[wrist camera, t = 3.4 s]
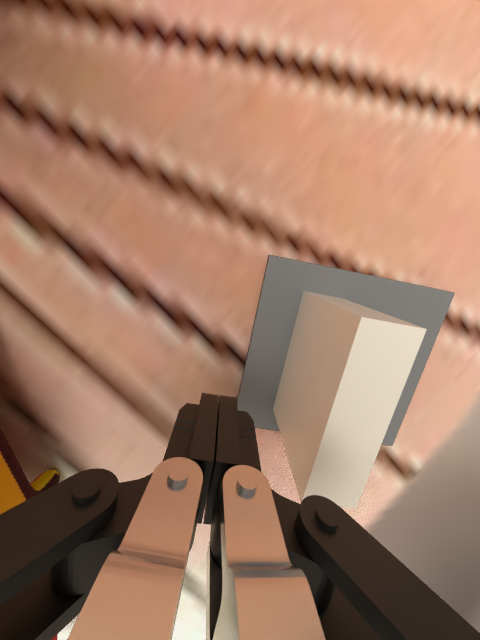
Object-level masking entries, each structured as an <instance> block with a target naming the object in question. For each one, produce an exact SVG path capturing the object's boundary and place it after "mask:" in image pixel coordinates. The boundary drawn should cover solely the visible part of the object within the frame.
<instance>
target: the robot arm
mask: <svg viewBox="0 0 480 640" xmlns="http://www.w3.org/2000/svg"><path fill="white" fill-rule="evenodd" d="M218 399H219V402H218ZM204 508H205V513H204ZM203 513H204V524H211V534H210V542H209V547H208V551H207V596H206V640H480V633H479V632H478V631H477V630H475V629H474V628H473V627H472V626H471V625H470V624H469V623H468V622H467V621H466V620H465V619H463V618H462V617H461V616H460V615H459V614H458V613H457V612H456V611H454V610H453V609H452V608H451V607H450V606H449V605H448V604H447V603H446V602H445V601H443V600H442V599H441V598H440V597H439V596H438V595H437V594H436V593H435V592H433V591H432V590H431V589H430V588H429V587H428V586H427V585H426V584H425V583H424V582H422V581H421V580H420V579H419V578H418V577H417V576H416V575H415V574H414V573H412V572H411V571H410V570H409V569H408V568H407V567H406V566H405V565H404V564H402V563H401V562H400V561H399V560H398V559H397V558H396V557H394V555H392V554H391V553H390V552H389V551H388V550H387V549H386V548H385V547H384V546H382V545H381V544H380V543H379V542H378V541H377V540H376V539H375V538H374V537H372V536H371V535H370V534H369V533H368V532H367V531H366V530H365V529H364V528H363V527H361V526H360V525H359V524H358V523H357V522H356V521H355V520H354V519H353V518H352V517H350V516H349V515H348V514H347V513H346V512H345V511H344V510H343V509H342V508H340V507H339V506H338V505H337V504H336V503H334V502H333V501H331V500H330V499H328V498H326V497H323V496H319V495H310V496H307V497H306V498H304V499H303V500H302V502H301V504H298V503H296V502H294V501H291V500H289V499H287V498H285V497H283V496H281V495H279V494H277V493H276V492H275V491H273V490H272V489H271V488H270V484H269V482H268V480H267V478H266V477H265V476H264V475H263V474H262V472H261V466H260V460H259V453H258V447H257V440H256V434H255V427H254V420H253V419H252V418H251V416H250V415H249V413H248V412H246V411H239V410H238V409H237V398H234V397H228V396H221V395H220V397H219V395H214V394H207V393H202V395H201V400H200V405H197V404H190V403H187V404H186V405H184V406H183V407H182V408H181V409H180V410H179V413H178V416H177V420H176V422H175V425H174V429H173V431H172V435H171V438H170V441H169V444H168V447H167V450H166V453H165V456H164V459H163V461H162V463H160V464H159V465H158V466H157V467H156V469H155V470H154V472H153V473H151V474H150V475H148V476H146V477H144V478H141V479H138V480H133V481H128V482H122V483H119V482H118V479H117V477H116V476H115V475H114V474H113V473H112V472H110V471H108V470H105V469H89V470H85V471H82V472H79V473H77V474H75V475H73V476H71V477H69V478H67V479H66V480H64V481H62V482H60V483H58V484H56V485H54V486H52V487H51V488H49V489H47V490H45V491H43V492H41V493H39V494H37V495H36V496H34V497H32V498H30V499H28V500H26V501H24V502H22V503H20V504H19V505H17V506H15V507H13V508H11V509H9V510H7V511H5V512H4V513H2V514H0V640H52V639H53V638H54V637H55V636H56V635H57V634H58V633H59V632H60V631H61V630H62V629H63V628H64V627H65V626H66V625H67V624H68V623H69V622H70V621H71V620H72V619H74V618H75V617H76V616H77V615H78V614H79V613H80V614H79V616H78V618H77V620H76V622H75V624H74V627H73V629H72V631H71V633H70V635H69V637H68V639H67V640H171V639H172V634H173V629H174V624H175V619H176V614H177V610H178V605H179V600H180V595H181V590H182V585H183V580H184V575H185V570H186V565H187V560H188V555H189V551H190V550H191V548H192V545H193V541H194V536H195V531H196V526H197V523H200V524H201V523H202V518H203Z"/></svg>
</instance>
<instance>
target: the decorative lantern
mask: <svg viewBox="0 0 480 640" xmlns="http://www.w3.org/2000/svg"><path fill="white" fill-rule="evenodd" d="M59 479H60V474H59V473H58V471H56V470H48V471H46V472H44V473H42V474H41V475H40V476H38V477H37V478H36V479H35V480H34V481H33V482H32V483H31V484H29V482H28V480H27V478H26V476H25V474H24V472H23V471H22V469H21V467H20V465H19V463H18V461H17V459H16V457H15V455H14V453H13V451H12V450H11V448H10V446H9V444H8V442H7V440H6V438H5V436H4V434H3V432H2V431H1V429H0V514H2V513H4V512H5V511H7V510H9V509H11V508H13V507H15V506H17V505H19V504H20V503H22V502H24V501H26V500H28V499H30V498H32V497H34V496H36V495H37V494H39V493H41V492H43V491H45V490H47V489H49V488H51V487H52V486H54V485H56V484H58V483H59Z"/></svg>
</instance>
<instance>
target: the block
mask: <svg viewBox="0 0 480 640" xmlns="http://www.w3.org/2000/svg"><path fill="white" fill-rule="evenodd" d="M426 330H427V329H425V328H423V327H420V326H417V325H414V324H412V323H409V322H406V321H403V320H401V319H398V318H395V317H392V316H390V315H387V314H384V313H381V312H379V311H376V310H373V309H370V308H368V307H365V306H362V305H360V304H357V303H354V302H351V301H349V300H346V299H343V298H339V297H334V296H328V295H323V294H318V293H313V292H308V291H303V294H302V298H301V302H300V306H299V310H298V314H297V318H296V321H295V325H294V329H293V333H292V337H291V341H290V345H289V349H288V352H287V356H286V360H285V364H284V368H283V372H282V376H281V380H280V383H279V387H278V391H277V395H276V399H275V403H274V407H273V411H274V414H275V418H276V421H277V424H278V428H279V431H280V434H281V437H282V441H283V444H284V447H285V451H286V454H287V457H288V461H289V464H290V467H291V471H292V474H293V477H294V480H295V484H296V487H297V490H298V494H299V497H300V500H301V502H302V500H303V499H304V498H306V497H307V496H310V495H319V496H323V497H326V498H328V499H330V500H331V501H333V502H334V503H336V504H337V505H338V506H339V507H345V508H354V509H356V507H357V505H358V502H359V500H360V497H361V494H362V492H363V489H364V487H365V484H366V482H367V479H368V477H369V474H370V472H371V469H372V467H373V464H374V462H375V459H376V457H377V454H378V451H379V449H380V446H381V444H382V441H383V439H384V436H385V434H386V431H387V429H388V426H389V424H390V421H391V419H392V416H393V413H394V411H395V408H396V406H397V403H398V401H399V398H400V396H401V393H402V391H403V388H404V386H405V383H406V381H407V378H408V376H409V373H410V370H411V368H412V365H413V363H414V360H415V358H416V355H417V353H418V350H419V348H420V345H421V343H422V340H423V338H424V335H425V332H426Z"/></svg>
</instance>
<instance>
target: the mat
mask: <svg viewBox="0 0 480 640" xmlns="http://www.w3.org/2000/svg"><path fill="white" fill-rule="evenodd" d="M303 291H308V292H313V293H318V294H323V295H328V296H334V297H339V298H343V299H346V300H349V301H351V302H354V303H357V304H360V305H362V306H365V307H368V308H370V309H373V310H376V311H379V312H381V313H384V314H387V315H390V316H392V317H395V318H398V319H401V320H403V321H406V322H409V323H412V324H414V325H417V326H420V327H423V328H425V329H427V330H426V332H425V335H424V338H423V340H422V343H421V345H420V348H419V350H418V353H417V355H416V358H415V360H414V363H413V365H412V368H411V370H410V373H409V376H408V378H407V381H406V383H405V386H404V388H403V391H402V393H401V396H400V398H399V401H398V403H397V406H396V408H395V411H394V413H393V416H392V419H391V421H390V424H389V426H388V429H387V431H386V434H385V436H384V439H383V441H382V444H381V445H389V446H392V445H393V443H394V441H395V438H396V436H397V433H398V431H399V428H400V426H401V423H402V421H403V419H404V416H405V414H406V411H407V409H408V406H409V404H410V401H411V399H412V397H413V394H414V392H415V389H416V387H417V384H418V382H419V379H420V377H421V375H422V372H423V370H424V367H425V365H426V362H427V360H428V357H429V355H430V352H431V350H432V348H433V345H434V343H435V340H436V338H437V335H438V333H439V330H440V328H441V326H442V323H443V321H444V318H445V316H446V313H447V311H448V308H449V306H450V304H451V301H452V299H453V296H454V294H455V293H454V292H449V291H444V290H439V289H434V288H429V287H425V286H420V285H415V284H410V283H405V282H400V281H395V280H390V279H386V278H381V277H376V276H371V275H366V274H361V273H356V272H351V271H347V270H342V269H337V268H332V267H327V266H322V265H317V264H312V263H307V262H303V261H298V260H293V259H288V258H283V257H278V256H273V255H269V256H268V261H267V265H266V270H265V275H264V279H263V284H262V289H261V293H260V298H259V303H258V307H257V312H256V316H255V321H254V326H253V330H252V335H251V340H250V344H249V349H248V353H247V358H246V363H245V367H244V372H243V377H242V381H241V386H240V391H239V395H238V400H237V409H238V410H239V411H246V412H248V413H249V415H250V416H251V418H252V419H253V420H254V427H255V428H261V429H268V430H276V431H279V428H278V424H277V421H276V418H275V414H274V411H273V407H274V403H275V399H276V395H277V391H278V387H279V383H280V380H281V376H282V372H283V368H284V364H285V360H286V356H287V352H288V349H289V345H290V341H291V337H292V333H293V329H294V325H295V321H296V318H297V314H298V310H299V306H300V302H301V298H302V294H303Z"/></svg>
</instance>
